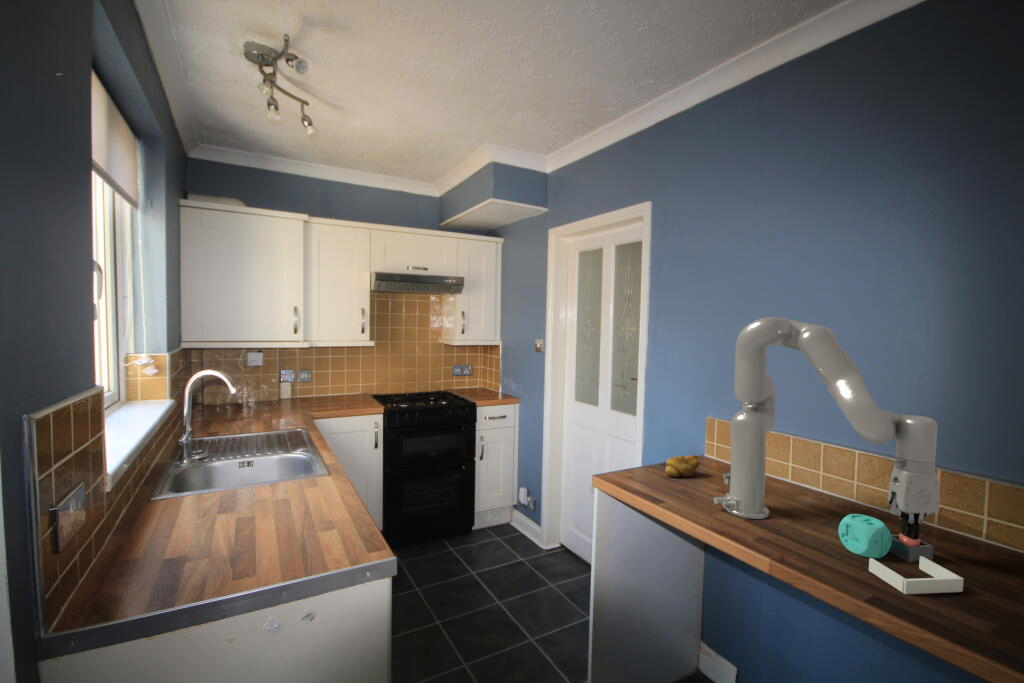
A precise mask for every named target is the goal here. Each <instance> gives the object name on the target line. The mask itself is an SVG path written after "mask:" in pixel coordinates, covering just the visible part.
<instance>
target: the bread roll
mask: <svg viewBox="0 0 1024 683" xmlns="http://www.w3.org/2000/svg"><path fill="white" fill-rule="evenodd" d="M665 464H666V465H665V470H664V472H665V475H666V476H669V477H671V478H679V477H683V478H689V477H693V476H694V475H695V474H696V473H695V472H696V470H697V469H698V468H699V466H700V459H699V457H698V456H697V455H693V454H692V455H687V456H684V455H676V456H674V457H669V458H668V459H666V461H665Z"/></svg>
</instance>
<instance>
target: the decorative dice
mask: <svg viewBox="0 0 1024 683" xmlns="http://www.w3.org/2000/svg"><path fill="white" fill-rule="evenodd" d="M837 530H838V533H837V534H838V537H839V540H840V541H841V543H842V545H843V546H844V547H845V549H847V551H850V553H853V554H856V555H858V556H861V557H864V558H873V559H880V558H883V557H884V556H885V555H887V554H888V553H889V552H890V551H889V549H890V547H891V543H892V537H891V535H892V534H891V531H890V530H889V528H888V527H887V525H886V524H885V523H884V522H883V521H882V520H880V519H878V518H875V517H873V516H869V515H866V514H860V513H849V514H848V515H846V516H845V517H844V518H842V519H841V521H840V523H839V525H838V529H837Z"/></svg>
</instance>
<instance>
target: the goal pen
mask: <svg viewBox="0 0 1024 683" xmlns="http://www.w3.org/2000/svg"><path fill="white" fill-rule="evenodd" d="M868 561H869V562H868V571H869V573H872V574H874V576H876V577H878V578H879V579H881V580H882V581H884V582H885V583H887V584H888V585H890V586H892V587H893V588H895V589H897V590H898V591H899V592H901V593H903V594H904V595H919V594H941V593H942V594H943V593H961V592H962V593H963V591H964V578H963V577H962V576H961V575H957V574H956V573H954V572H952V571H950V569H949V570H948V569H947V568H945V567H943V566H941V565H940V564H937V563H936V562H934V561H930V560H928V559H926V558H925V557H923V556H920V561H919V562H918V569H919V570H921V571H923V572H924V573H926V574H928V575H929V576H932V577H925V578H921V577H920V578H905V577H903V576H902V575H901V574H898V573H897V572H896V571H894V570H892V569H890V568H889V567H887V566H885V565H884V564H882V563H881V562H879V561H877V560H876V559H875V558H869V559H868Z"/></svg>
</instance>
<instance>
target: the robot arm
mask: <svg viewBox="0 0 1024 683" xmlns="http://www.w3.org/2000/svg"><path fill="white" fill-rule="evenodd" d="M735 342H736V343H735V352H734V353H735V357H734V358H735V359H734V362H735V363H734V382H733V383H734V386H733V387H734V389H733V392H734V396H735V397H736V399H737V401H739V402H740V403H741V404H742V409H741V410H739V411H738V412H736V413H735V414H734V415H733V416H732V418H731V420H730V424H729V434H730V471H729V473H730V485H729V492H726V493H725V495H724V496H723V497H721V496H720V497H719V496H715V497H713V502H714V504H716V505H720V504H721V505H722V506H723V508H724V509H725V511H727V512H728V513H729V514H732V515H734V516H738V517H739V518H745V519H752V520H762V519H763V520H764V519H766V518H768V517H769V516H770V510H769V508H768V507H767V506H765V505H764V504H765V503H764V502H765V481H766V462H767V460H766V458H767V457H766V456H767V451H766V450H767V449H766V435H767V434H768V433H769V432H771V431H772V430H773V428H774V426H775V422H776V421H775V420H776V384H775V382H774V380H773V379H772V377H771V376H770V375H769V374H767V364H768V363H767V349H768V348H769V347H772V346H781V347H784V348H790V349H793V350H798V351H800V352H801V353H802V354H803V356H804V357H805V358H806V360H807V361H808V363H809V364H810V365H811V367H812V368H813V369H814V371H815V372H816V373H817V375H818V376H819V378H820V379H821V380H822V382H823V383H824V385H825V386H826V387H827V390H828V392H829V394H830V395H831V396H832V398H833V400H834V401H835V403H836V404H837V406H838V408H839V410H840V411H841V412H842V414H843V416H844V417H845V418H846V420H847V421H848V423H849V424H850V425H851V426H852V428H853V430H854V431H855V432H856V433H857V434H858V436H860V438H861V439H863V440H864V441H865V442H867V443H869V444H873V445H884V444H888V443H889V442H891V441H892V440H893V439H894V440H896V441H895V442H896V443H895V444H896V445H895V460H894V461H893V462H892V464H893V466H894V468H893V469H892V472H891V476H890V480H889V484H888V490H887V491H888V493H887V503H888V505H889V506H890V507H889V513H890V514H892V515H895V516H898V517H899V519H900V520H901V530H900V533H902V534H903V535H904V536H906V537H908V538H910V539H919V538H920V525H921V524H923V522H924V518H926V516H929V515H932V514H934V513H937V512H939V510H940V506H941V504H940V503H941V502H940V501H941V496H940V495H941V494H940V482H939V480H940V479H939V477H938V473H937V472H935V471H936V470H935V469H936V458H937V456H936V455H937V443H938V442H937V440H938V430H939V429H938V423H937V420H935V419H934V418H932V417H928V416H924V415H923V416H922V415H916V414H915V415H914V414H901V413H896V412H893V411H888V410H884V409H881V408H880V407H879V405H878V404H877V402H876V401H875V400H874V398H873V397H872V395H871V394H870V392H869V391H868V389H867V387H866V384H865V383H864V382H865V381H864V378H863V375H862V373H861V371H860V370H859V368H858V367H857V365H856V364H855V363H854V362H853V361H852V359H851V358H850V357H849V356H848V354H847V353H846V351H845V350H844V349H843V347H842V346H841V345H840V344H839V342H838V338H837V335H836V333H835V332H834V331H833V329H831V328H829V327H827V326H824V325H820V324H819V325H818V324H813V323H808V322H802V321H799V320H794V319H790V318H789V319H788V318H786V317H785V318H784V317H778V316H777V317H776V316H767V317H762V318H761V317H760V318H759V319H756V320H754V321H752V322H750V323H749V324H747V325H746V326H744V327H743V329H742V330H741V331H740V332H739V334H738V336H737V338H736V341H735Z"/></svg>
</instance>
